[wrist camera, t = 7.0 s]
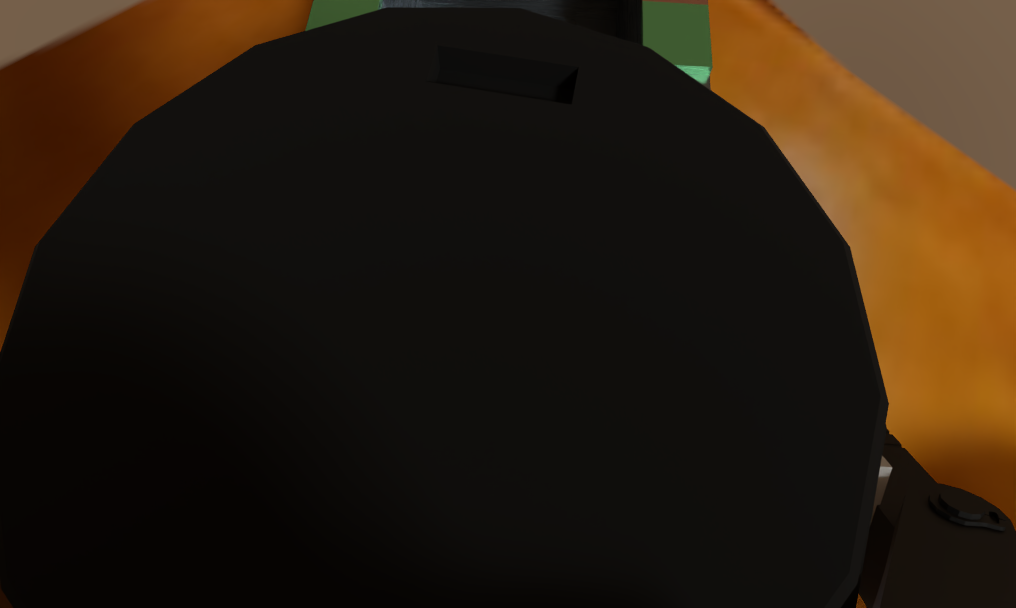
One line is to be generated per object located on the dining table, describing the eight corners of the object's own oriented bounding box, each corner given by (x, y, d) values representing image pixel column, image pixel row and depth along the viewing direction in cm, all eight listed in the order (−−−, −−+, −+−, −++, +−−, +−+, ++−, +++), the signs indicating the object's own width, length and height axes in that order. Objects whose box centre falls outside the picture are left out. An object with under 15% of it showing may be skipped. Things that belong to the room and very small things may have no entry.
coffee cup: (345, 277, 21) (173, -73, 10) (687, 338, 20) (909, 33, 9) (220, 657, 17) (-334, 781, 6) (651, 753, 16) (991, 1118, 5)
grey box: (664, 213, 24) (733, 48, 17) (343, 191, 25) (276, 19, 17) (657, -9, 29) (710, -213, 22) (389, -25, 29) (351, -232, 22)
